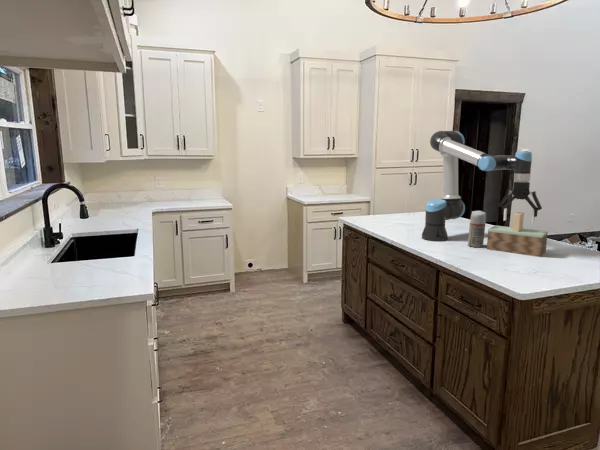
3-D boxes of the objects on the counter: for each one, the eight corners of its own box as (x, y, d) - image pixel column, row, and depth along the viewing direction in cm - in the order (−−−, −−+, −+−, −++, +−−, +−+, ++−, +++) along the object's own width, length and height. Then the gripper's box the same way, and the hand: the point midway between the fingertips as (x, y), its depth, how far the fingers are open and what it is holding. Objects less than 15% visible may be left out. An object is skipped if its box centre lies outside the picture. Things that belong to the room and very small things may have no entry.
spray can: (484, 245, 234) (487, 210, 230) (482, 248, 227) (485, 212, 223) (468, 243, 238) (471, 209, 235) (466, 246, 232) (468, 211, 228)
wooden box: (486, 249, 226) (488, 231, 224) (493, 244, 235) (495, 227, 233) (540, 256, 209) (542, 237, 207) (545, 251, 218) (547, 233, 216)
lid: (488, 231, 224) (489, 212, 222) (495, 227, 233) (496, 209, 231) (542, 237, 207) (544, 217, 205) (547, 233, 216) (549, 214, 214)
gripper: (494, 181, 220) (491, 220, 224) (547, 183, 204) (543, 225, 208) (498, 180, 226) (495, 218, 230) (550, 181, 209) (546, 222, 213)
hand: (518, 221), depth 219 cm, fingers open, 13 cm apart
